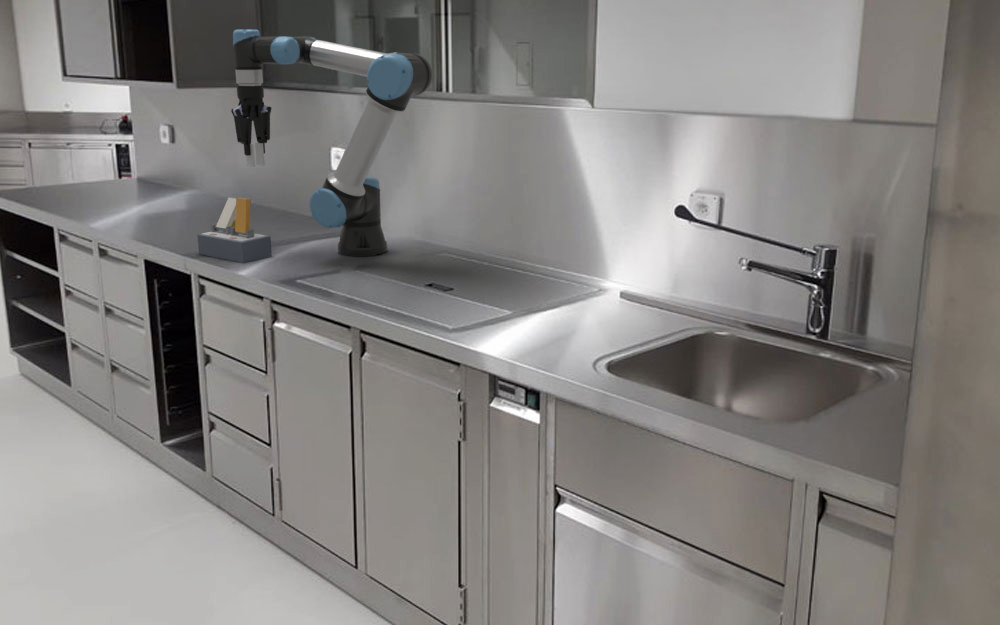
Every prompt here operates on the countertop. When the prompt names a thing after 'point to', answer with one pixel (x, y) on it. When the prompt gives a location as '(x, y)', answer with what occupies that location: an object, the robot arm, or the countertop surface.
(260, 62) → the robot arm
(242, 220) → the orange lever
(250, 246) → the breaker panel
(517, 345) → the countertop surface
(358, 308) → the countertop surface
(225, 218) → the ivory lever
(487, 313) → the countertop surface
